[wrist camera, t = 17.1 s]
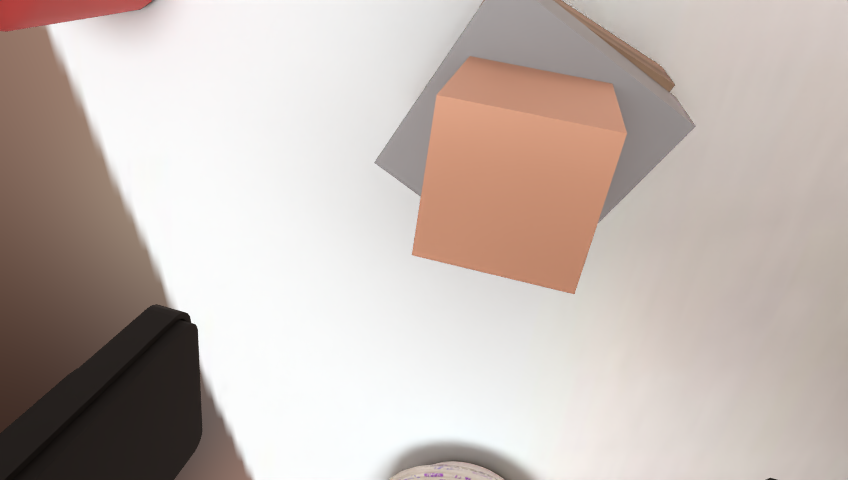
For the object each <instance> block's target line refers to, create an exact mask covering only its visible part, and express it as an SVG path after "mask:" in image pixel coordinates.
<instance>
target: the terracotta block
mask: <svg viewBox="0 0 848 480" xmlns="http://www.w3.org/2000/svg"><path fill="white" fill-rule="evenodd" d="M626 135H627V131H626V128H625V125H624V121H623V118H622V114H621V111H620V108H619V104H618V101H617V97H616V94H615V91H614V87H613V84H612V83H607V82H602V81H596V80H591V79H586V78H581V77H576V76H570V75H565V74H560V73H555V72H550V71H545V70H539V69H534V68H529V67H524V66H519V65H513V64H508V63H503V62H498V61H493V60H488V59H482V58H477V57H472V56H469V58H468V59H467V60H466V61H465V62H464V63H463V65H462V66H461V67H460V68H459V69H458V70H457V72H456V73H455V74H454V75H453V76H452V77H451V78H450V80H449V81H448V82H447V83H446V84H445V85H444V87H443V88H442V89H441V90H440V91H439V92H438V94H437V95H436V102H435V108H434V115H433V121H432V128H431V134H430V141H429V147H428V154H427V160H426V167H425V173H424V180H423V186H422V193H421V199H420V206H419V212H418V219H417V225H416V232H415V238H414V245H413V251H412V255H414V256H418V257H422V258H426V259H431V260H435V261H439V262H443V263H447V264H451V265H456V266H460V267H464V268H468V269H472V270H476V271H480V272H485V273H489V274H493V275H497V276H501V277H505V278H510V279H514V280H518V281H522V282H526V283H530V284H534V285H539V286H543V287H547V288H551V289H555V290H559V291H564V292H568V293H572V294H575V291H576V288H577V284H578V281H579V278H580V275H581V272H582V269H583V266H584V263H585V260H586V257H587V254H588V251H589V248H590V245H591V242H592V239H593V236H594V233H595V230H596V227H597V224H598V221H599V218H600V214H601V211H602V208H603V205H604V202H605V199H606V196H607V193H608V190H609V187H610V184H611V181H612V178H613V175H614V172H615V169H616V166H617V163H618V160H619V157H620V154H621V151H622V147H623V144H624V141H625V138H626Z"/></svg>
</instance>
